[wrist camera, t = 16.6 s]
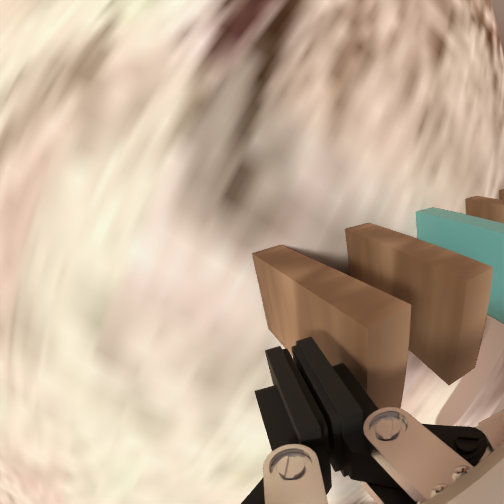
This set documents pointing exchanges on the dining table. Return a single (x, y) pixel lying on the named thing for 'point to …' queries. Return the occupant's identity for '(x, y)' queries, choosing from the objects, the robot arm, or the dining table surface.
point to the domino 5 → (501, 194)
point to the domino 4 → (485, 208)
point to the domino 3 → (469, 245)
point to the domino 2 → (427, 294)
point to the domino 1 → (337, 319)
